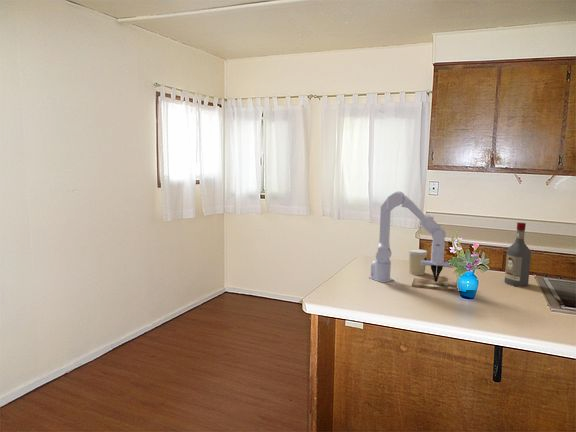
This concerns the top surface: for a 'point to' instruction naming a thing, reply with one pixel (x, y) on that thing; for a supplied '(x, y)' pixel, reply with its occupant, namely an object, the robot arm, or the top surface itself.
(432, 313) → the top surface
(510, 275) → the liquor
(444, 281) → the gauge slider
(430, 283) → the gauge base
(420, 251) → the coffee cup
